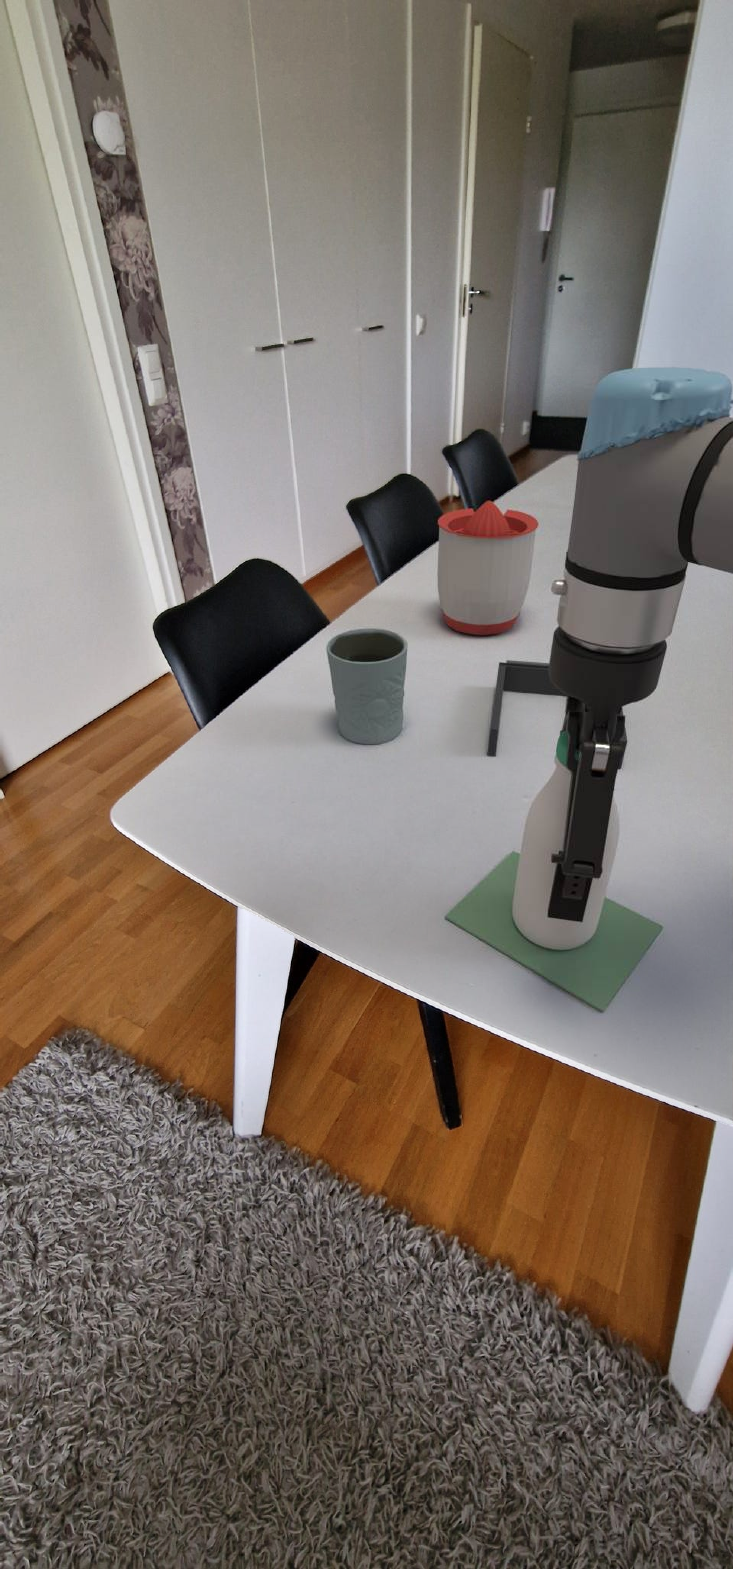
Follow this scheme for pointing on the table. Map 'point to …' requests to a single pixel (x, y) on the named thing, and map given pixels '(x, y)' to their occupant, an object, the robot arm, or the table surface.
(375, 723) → the grey-green cup
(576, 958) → the mat
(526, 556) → the citrus juicer
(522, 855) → the milk bottle
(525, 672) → the dark grey u-shaped frame
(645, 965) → the table surface
